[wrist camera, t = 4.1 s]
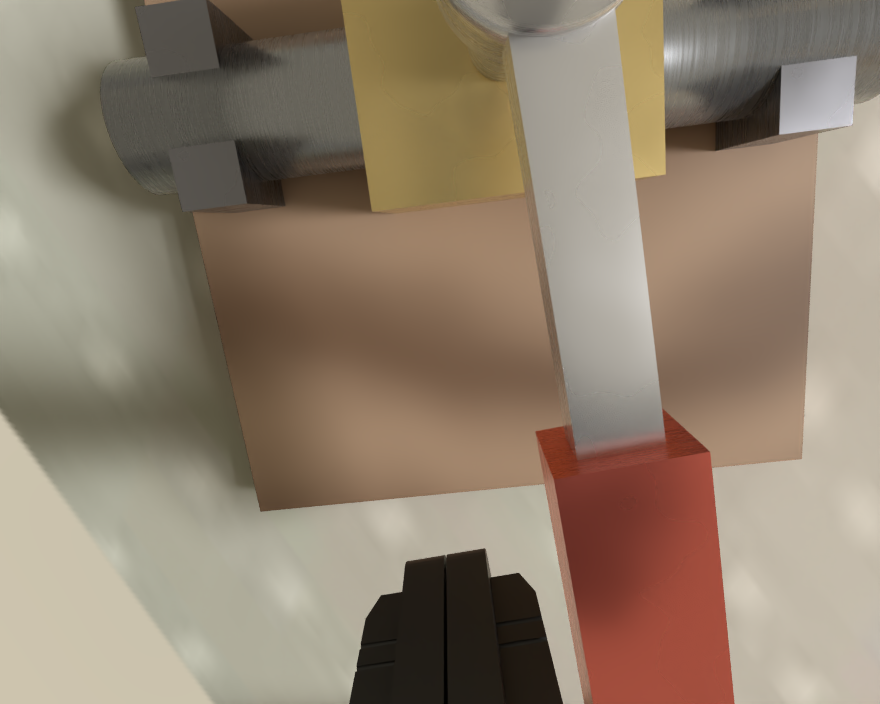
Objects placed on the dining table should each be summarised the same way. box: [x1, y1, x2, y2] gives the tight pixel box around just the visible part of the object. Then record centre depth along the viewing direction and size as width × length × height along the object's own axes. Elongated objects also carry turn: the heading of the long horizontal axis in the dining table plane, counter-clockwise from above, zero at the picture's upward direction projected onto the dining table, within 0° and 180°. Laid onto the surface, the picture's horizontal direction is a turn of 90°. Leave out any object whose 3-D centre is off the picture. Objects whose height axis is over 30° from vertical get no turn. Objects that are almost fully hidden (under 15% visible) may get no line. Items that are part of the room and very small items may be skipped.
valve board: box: [144, 0, 818, 511], centre depth 15 cm, size 24×18×2 cm
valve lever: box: [436, 0, 734, 704], centre depth 7 cm, size 15×3×2 cm, turn 12°
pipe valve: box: [100, 0, 880, 214], centre depth 11 cm, size 6×18×9 cm, turn 97°
